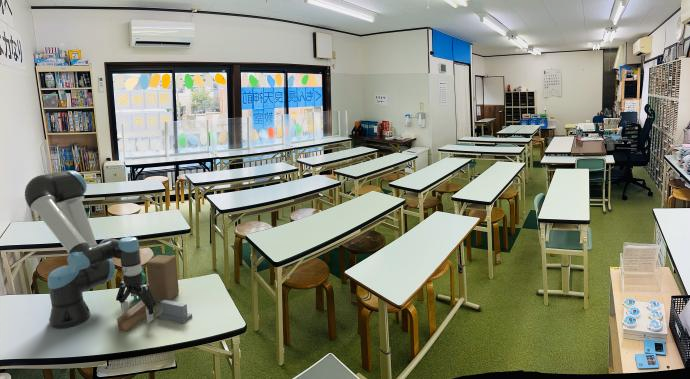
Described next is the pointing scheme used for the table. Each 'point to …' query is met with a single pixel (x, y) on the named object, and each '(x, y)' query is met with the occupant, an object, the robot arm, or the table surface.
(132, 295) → the toy
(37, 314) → the table surface
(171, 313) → the ridge stand
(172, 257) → the wooden block
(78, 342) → the table surface
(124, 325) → the beam
